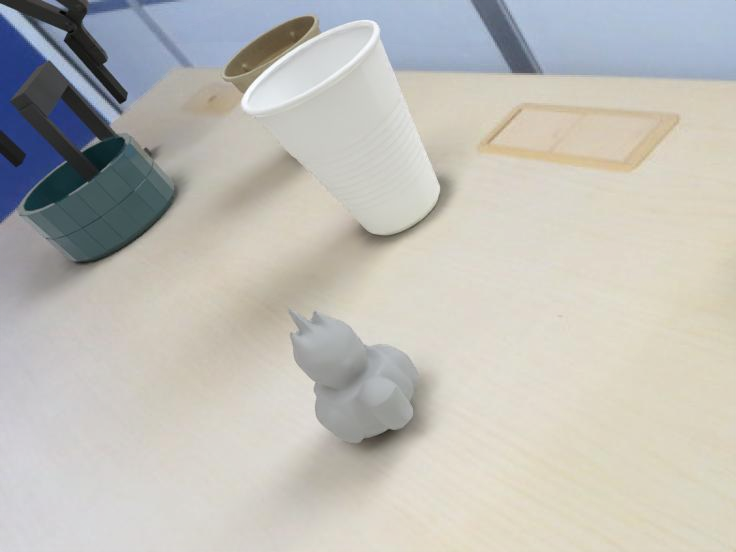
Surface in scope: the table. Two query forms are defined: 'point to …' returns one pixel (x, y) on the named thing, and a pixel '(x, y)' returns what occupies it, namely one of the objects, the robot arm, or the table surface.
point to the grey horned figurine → (353, 378)
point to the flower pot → (269, 50)
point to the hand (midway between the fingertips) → (72, 130)
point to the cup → (349, 126)
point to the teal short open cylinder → (99, 200)
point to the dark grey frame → (40, 101)
